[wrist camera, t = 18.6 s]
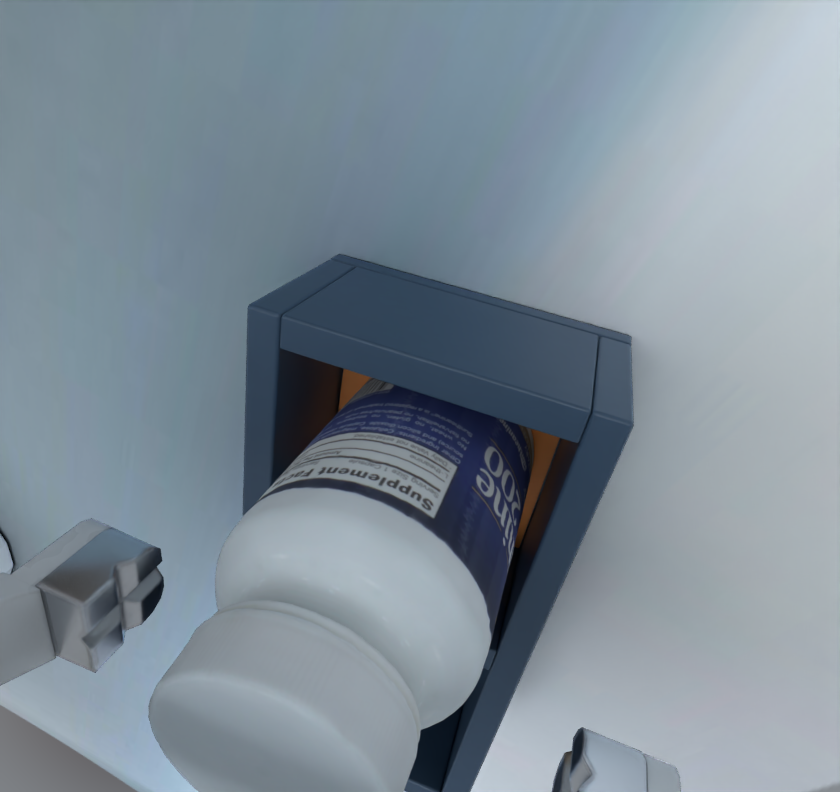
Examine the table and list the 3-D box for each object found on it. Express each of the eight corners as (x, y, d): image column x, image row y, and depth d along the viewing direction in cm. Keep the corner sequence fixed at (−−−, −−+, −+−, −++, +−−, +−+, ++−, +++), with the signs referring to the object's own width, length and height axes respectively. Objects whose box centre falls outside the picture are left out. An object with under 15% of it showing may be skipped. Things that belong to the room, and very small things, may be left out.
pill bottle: (524, 529, 17) (430, 930, 9) (358, 488, 18) (143, 805, 10) (552, 366, 14) (457, 722, 6) (357, 333, 16) (67, 591, 8)
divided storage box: (632, 335, 14) (635, 424, 10) (487, 690, 22) (459, 817, 18) (338, 252, 16) (246, 304, 12) (300, 614, 24) (237, 716, 20)
